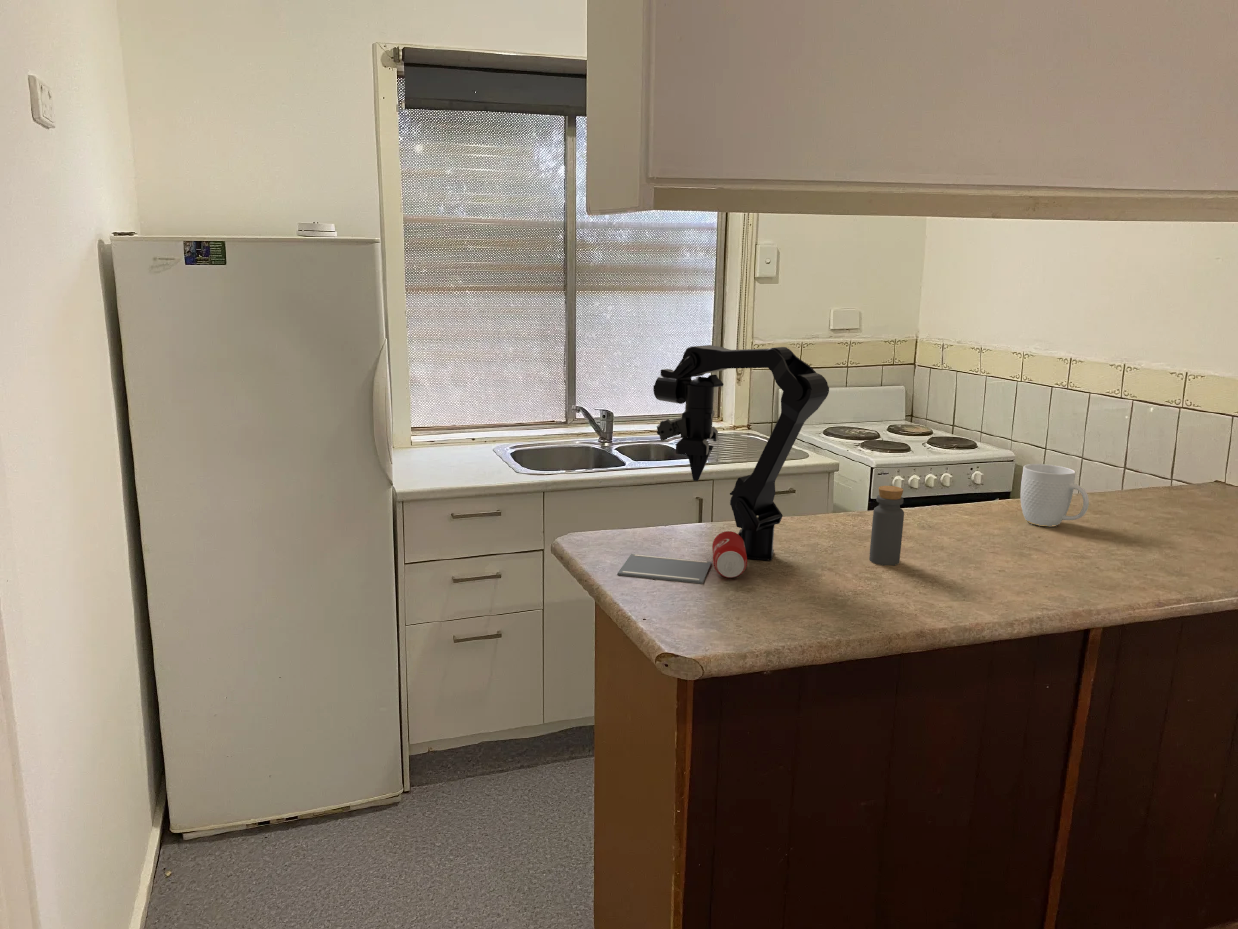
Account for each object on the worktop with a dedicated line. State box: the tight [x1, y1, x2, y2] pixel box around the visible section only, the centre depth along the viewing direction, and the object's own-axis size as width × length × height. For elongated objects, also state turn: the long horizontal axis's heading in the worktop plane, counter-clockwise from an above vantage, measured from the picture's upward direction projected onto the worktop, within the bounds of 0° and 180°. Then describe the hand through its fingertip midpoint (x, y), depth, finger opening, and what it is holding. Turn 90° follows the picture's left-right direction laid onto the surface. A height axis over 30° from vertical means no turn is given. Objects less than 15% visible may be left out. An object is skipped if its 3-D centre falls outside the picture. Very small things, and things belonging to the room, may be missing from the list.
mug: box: [1019, 463, 1090, 526], centre depth 215 cm, size 15×11×13 cm
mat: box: [617, 553, 713, 585], centre depth 178 cm, size 16×12×1 cm
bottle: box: [868, 485, 905, 566], centre depth 185 cm, size 6×6×15 cm
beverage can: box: [712, 530, 748, 579], centre depth 178 cm, size 6×6×12 cm
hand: (695, 480), depth 196 cm, fingers closed
